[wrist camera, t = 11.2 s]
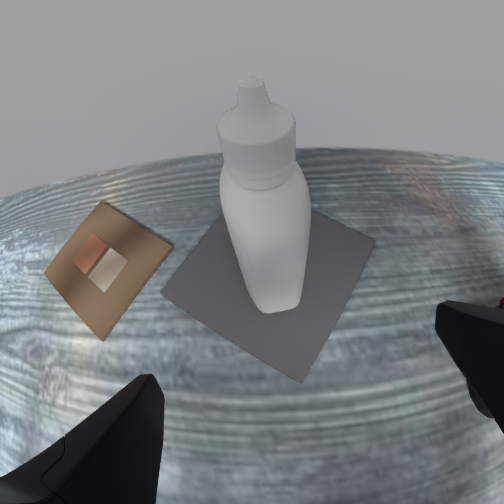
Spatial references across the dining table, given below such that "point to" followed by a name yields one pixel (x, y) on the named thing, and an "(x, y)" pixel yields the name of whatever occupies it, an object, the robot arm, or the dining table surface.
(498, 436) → the dining table surface
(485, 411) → the humidifier
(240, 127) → the eye dropper bottle
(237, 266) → the mat
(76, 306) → the board
